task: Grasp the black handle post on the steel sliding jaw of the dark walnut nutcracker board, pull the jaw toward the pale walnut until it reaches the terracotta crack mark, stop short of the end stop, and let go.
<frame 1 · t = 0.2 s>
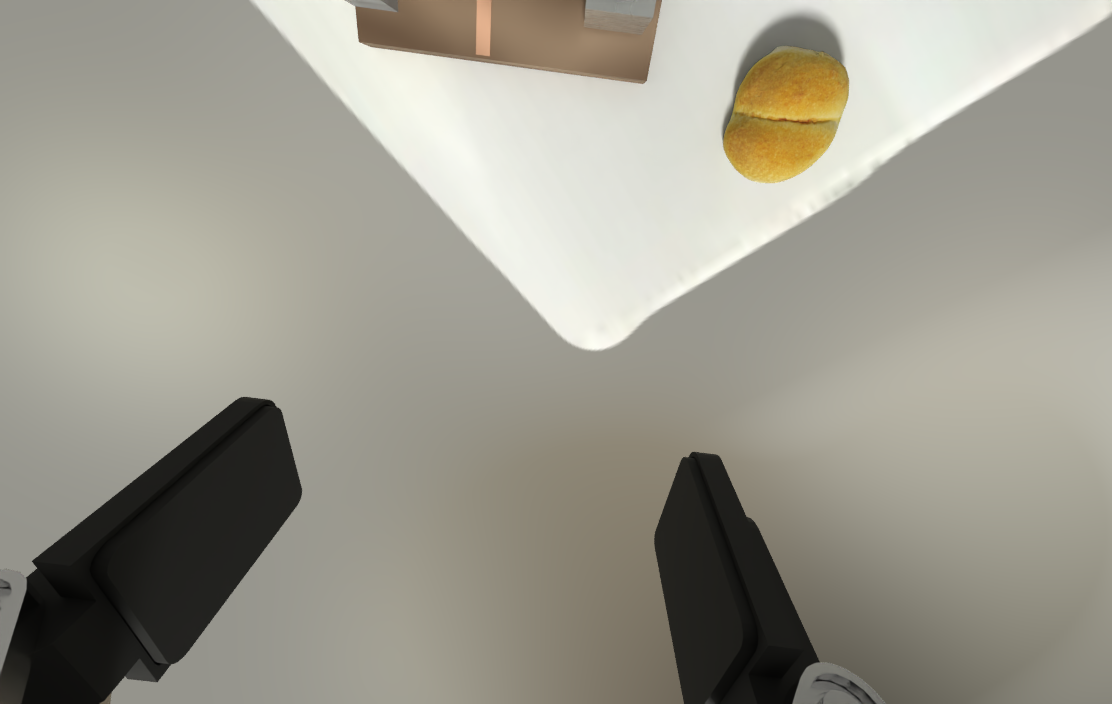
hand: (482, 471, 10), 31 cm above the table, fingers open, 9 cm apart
bread roll: (775, 117, 32), on the table
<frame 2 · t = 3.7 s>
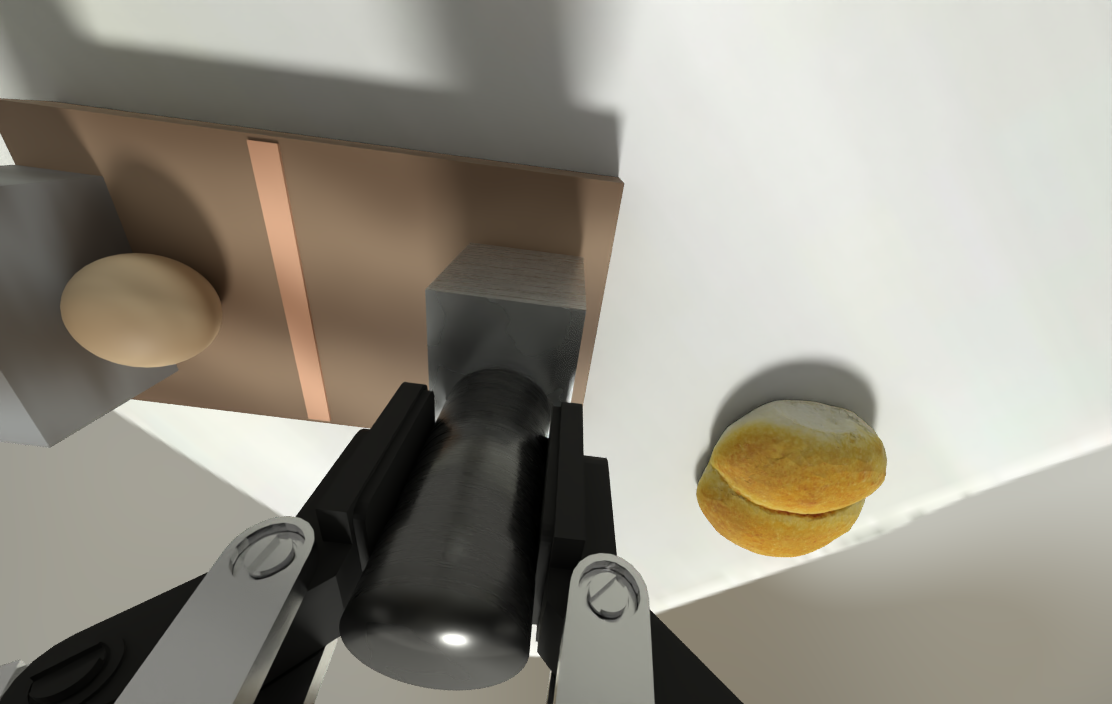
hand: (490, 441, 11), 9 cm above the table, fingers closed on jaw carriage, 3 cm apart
bread roll: (772, 457, 22), on the table
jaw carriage: (495, 426, 11), point 8 cm above the table, slide at 0.0 cm, touching gripper
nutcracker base: (392, 295, 18), on the table
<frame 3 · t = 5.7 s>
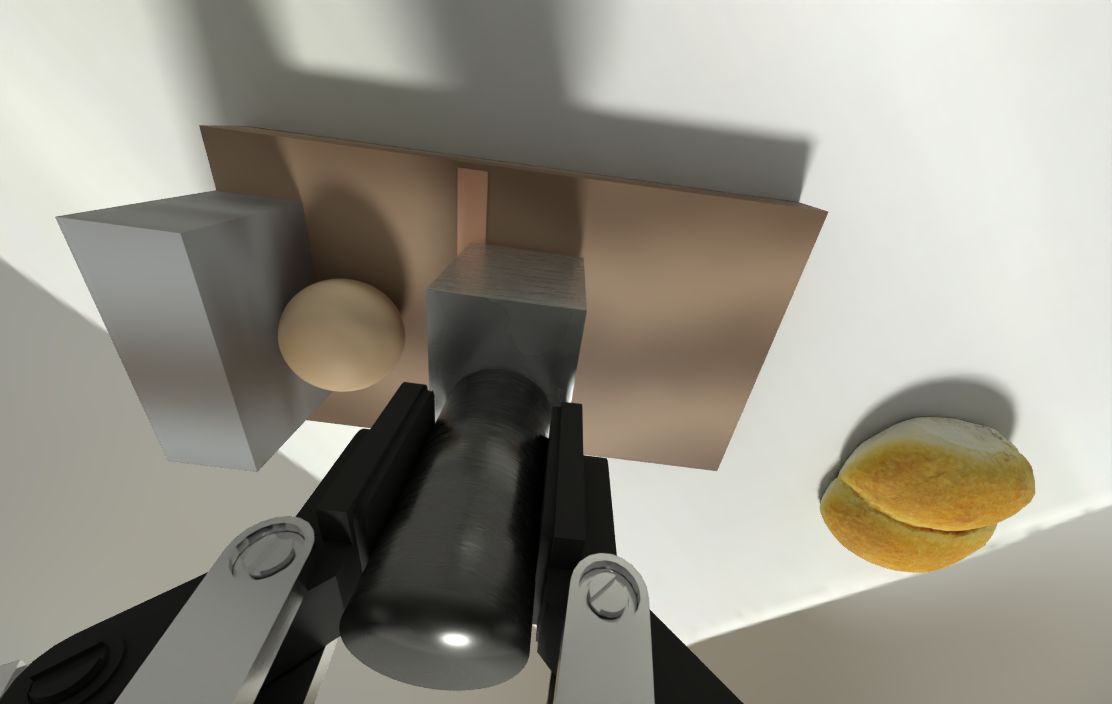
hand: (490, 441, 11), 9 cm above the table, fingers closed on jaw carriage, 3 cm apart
bread roll: (897, 472, 22), on the table
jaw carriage: (495, 426, 11), point 8 cm above the table, slide at 6.9 cm, touching gripper
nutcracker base: (547, 315, 18), on the table
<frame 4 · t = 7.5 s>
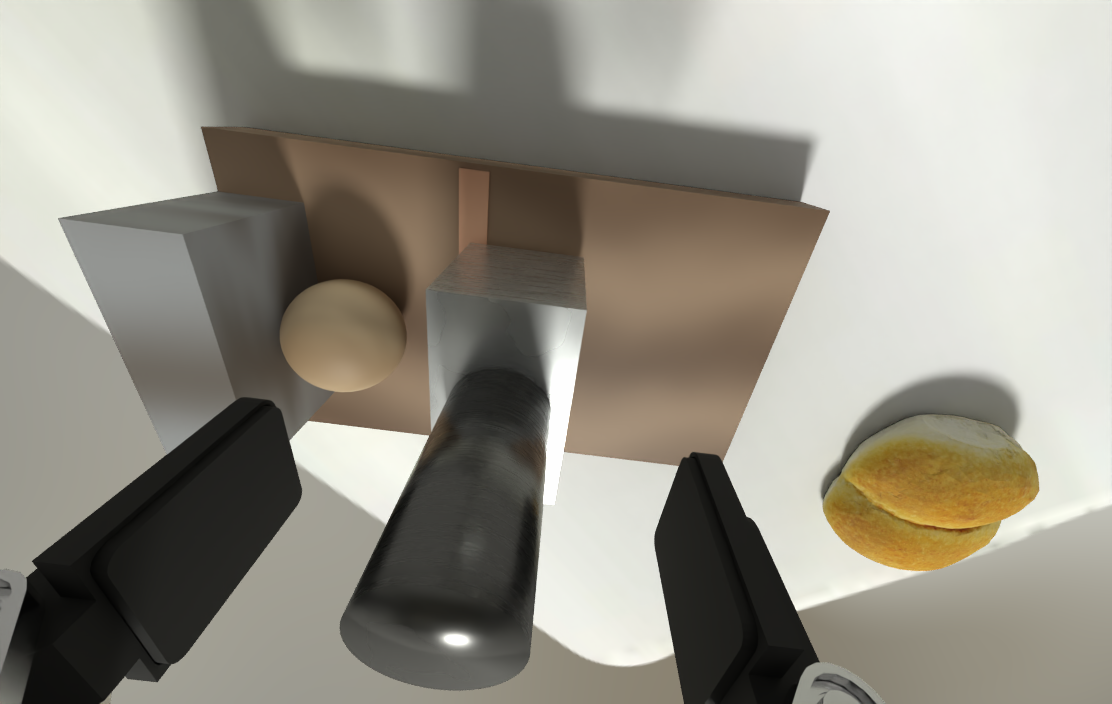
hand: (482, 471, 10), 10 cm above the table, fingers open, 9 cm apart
bread roll: (900, 470, 22), on the table
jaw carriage: (495, 426, 11), point 8 cm above the table, slide at 7.0 cm
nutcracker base: (548, 315, 18), on the table
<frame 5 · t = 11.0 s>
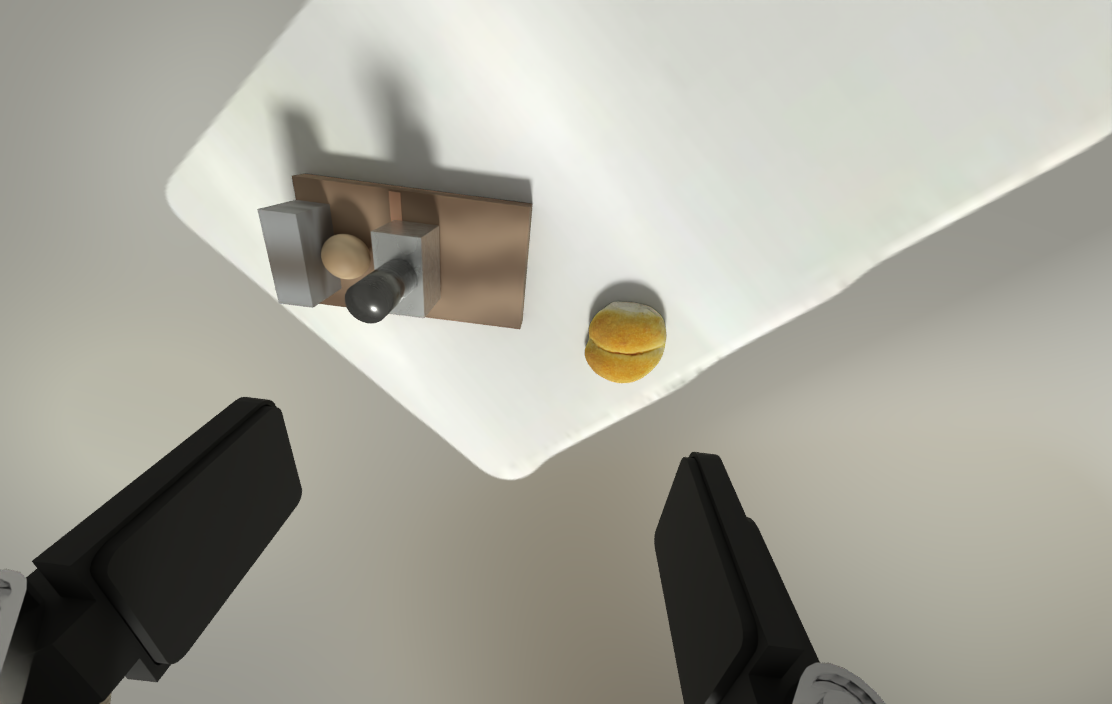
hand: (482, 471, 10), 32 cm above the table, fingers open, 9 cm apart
bread roll: (623, 335, 44), on the table
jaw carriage: (396, 279, 33), point 8 cm above the table, slide at 7.0 cm
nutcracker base: (437, 255, 40), on the table
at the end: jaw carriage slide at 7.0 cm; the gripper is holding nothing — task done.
